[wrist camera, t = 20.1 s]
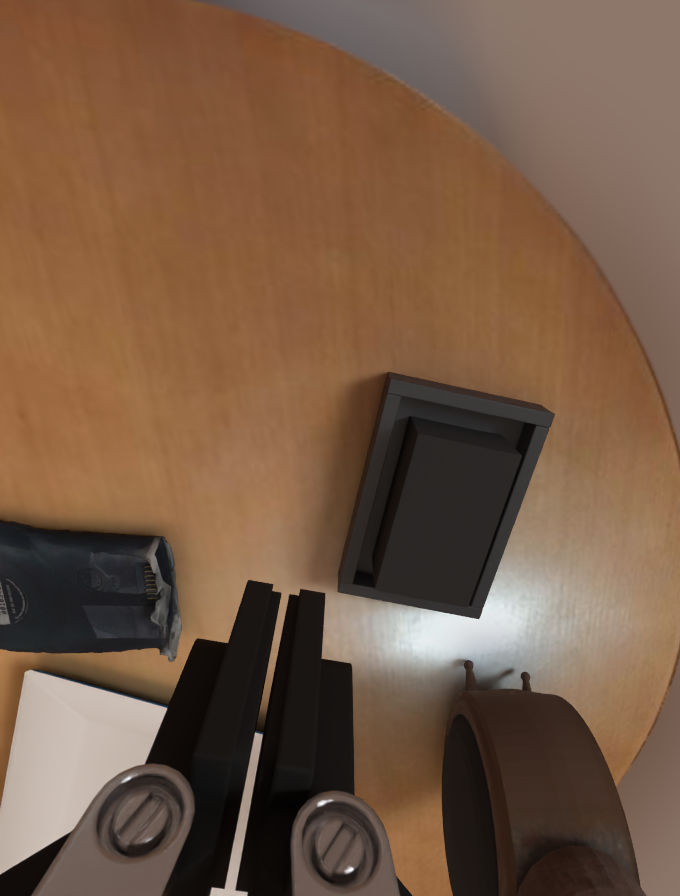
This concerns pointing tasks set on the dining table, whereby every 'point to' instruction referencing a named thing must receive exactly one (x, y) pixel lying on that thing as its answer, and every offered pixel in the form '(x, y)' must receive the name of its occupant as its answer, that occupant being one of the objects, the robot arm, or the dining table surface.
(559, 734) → the alarm clock
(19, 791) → the plate
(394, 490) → the black rectangular block
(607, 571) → the dining table surface
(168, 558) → the electronic device
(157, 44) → the dining table surface
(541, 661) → the dining table surface
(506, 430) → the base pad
